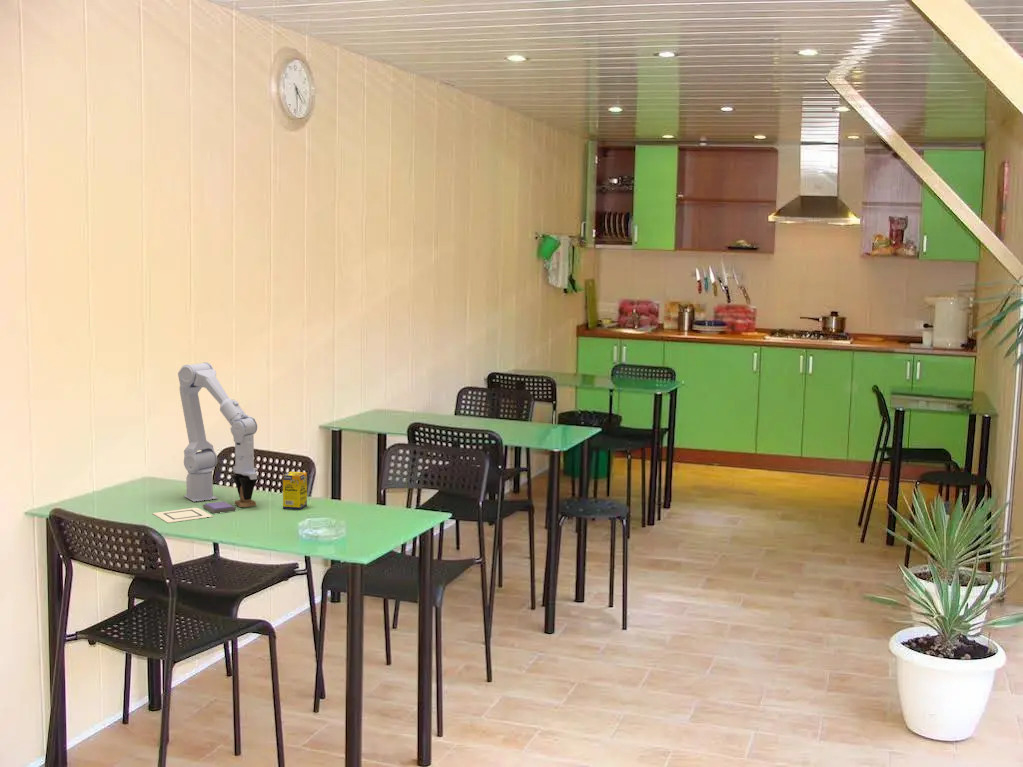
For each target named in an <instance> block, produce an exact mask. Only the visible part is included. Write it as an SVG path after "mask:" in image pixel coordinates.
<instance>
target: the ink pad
mask: <svg viewBox="0 0 1023 767" xmlns="http://www.w3.org/2000/svg"><path fill="white" fill-rule="evenodd" d="M202 507H203V508H204V510H205V509H206V511H207V510H208V512H209V511H210V512H209V513H211V512H212V513H211V514H213V513H218V514H221V513H220V512H225V513H227V512H226V511H233V512H236V511H235V510H237V508H236V507H235V506H234V505H231V504H229V502H228V503H227V502H226V501H224V500H223V501H217V502H216V501H215V502H209V503H204V504H203V505H202Z"/></svg>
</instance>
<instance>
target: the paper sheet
mask: <svg viewBox="0 0 1023 767" xmlns="http://www.w3.org/2000/svg"><path fill="white" fill-rule="evenodd" d="M152 515H154V516H156V517H157V518H159V519H160V520H162V521H163V522H165V523H168V524H172V523H179V522H186V520H187V521H192V520H193V519H194V520H200V519H199V518H202V519H208V518H207V517H209V518H213V517H214V515H212V514H210V513H209V512H207V511H204V510H203V509H201V508H198V507H191V508H189V507H188V508H183V509H182V508H181V509H174V510H168V511H160V512H152Z"/></svg>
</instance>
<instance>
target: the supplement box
mask: <svg viewBox="0 0 1023 767" xmlns="http://www.w3.org/2000/svg"><path fill="white" fill-rule="evenodd" d="M305 507H308V473H307V472H305V471H304V472H302V471H289V472H287V473H285V474H282V509H283V510H294V511H295V510H297V511H301V510H302V509H303V508H305Z"/></svg>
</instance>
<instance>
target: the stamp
mask: <svg viewBox="0 0 1023 767" xmlns="http://www.w3.org/2000/svg"><path fill="white" fill-rule="evenodd" d="M235 504H236V505H237V507H238V506H239V507H238V508H240V507H245V508H251V506H253V507H256V506H257V501H256V500H253V499H252V498H251V499H248V500H245V499H244V497H243V490H242V485H241V487H240V497H239V499H238V500H234V505H235ZM236 505H235V506H236Z"/></svg>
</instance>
